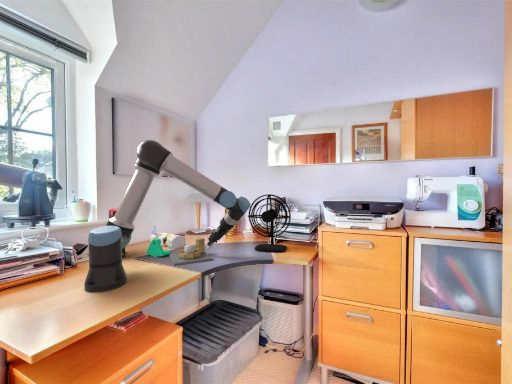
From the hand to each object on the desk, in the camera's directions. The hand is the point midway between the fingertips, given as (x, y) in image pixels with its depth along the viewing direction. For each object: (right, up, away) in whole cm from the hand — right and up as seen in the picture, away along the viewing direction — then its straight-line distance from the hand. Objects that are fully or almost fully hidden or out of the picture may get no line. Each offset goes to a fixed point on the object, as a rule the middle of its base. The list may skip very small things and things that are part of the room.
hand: (206, 247), depth 146 cm
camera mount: (-29, -6, +5) cm, 30 cm away
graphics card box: (-54, -6, +4) cm, 54 cm away
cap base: (-9, -5, -3) cm, 11 cm away
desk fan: (+37, -5, +15) cm, 40 cm away
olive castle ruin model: (-8, -4, -1) cm, 9 cm away
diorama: (-33, -5, +30) cm, 45 cm away
